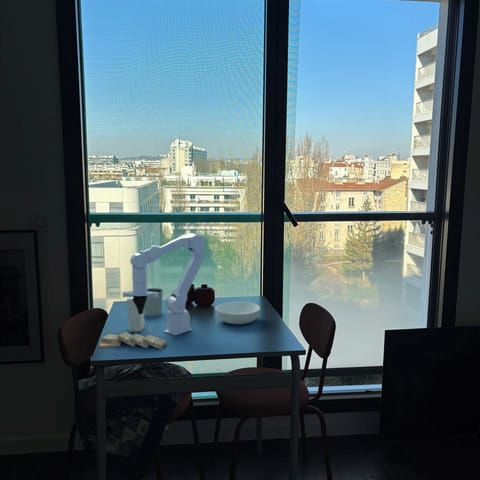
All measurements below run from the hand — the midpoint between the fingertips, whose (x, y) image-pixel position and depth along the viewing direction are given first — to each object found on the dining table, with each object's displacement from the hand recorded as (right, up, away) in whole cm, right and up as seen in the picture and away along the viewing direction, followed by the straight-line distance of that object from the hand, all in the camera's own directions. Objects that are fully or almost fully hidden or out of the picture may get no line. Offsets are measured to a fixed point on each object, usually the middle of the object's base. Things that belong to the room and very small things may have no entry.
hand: (140, 313), depth 196 cm
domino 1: (-7, -10, -6) cm, 13 cm away
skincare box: (-5, -9, +13) cm, 16 cm away
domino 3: (+6, -11, -9) cm, 15 cm away
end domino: (-7, -12, -6) cm, 15 cm away
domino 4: (+11, -11, -10) cm, 19 cm away
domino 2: (0, -11, -8) cm, 13 cm away
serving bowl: (+41, -7, +21) cm, 47 cm away
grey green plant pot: (-1, -6, +35) cm, 36 cm away
